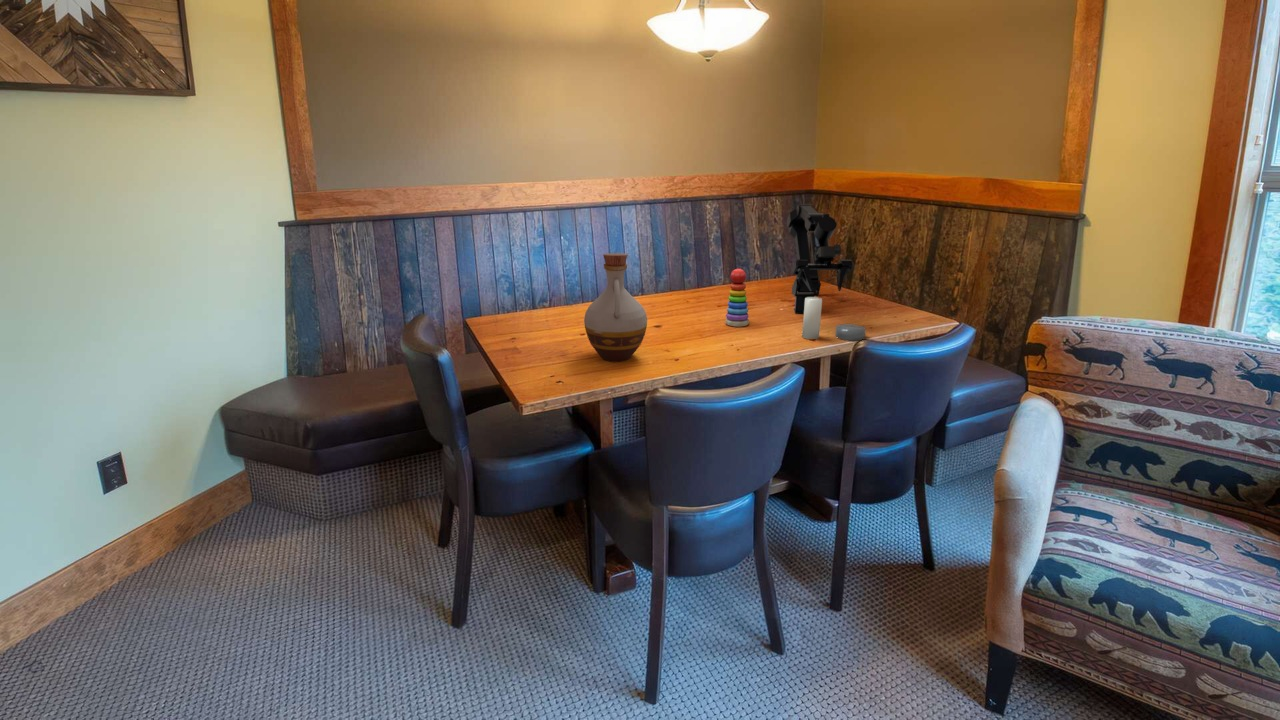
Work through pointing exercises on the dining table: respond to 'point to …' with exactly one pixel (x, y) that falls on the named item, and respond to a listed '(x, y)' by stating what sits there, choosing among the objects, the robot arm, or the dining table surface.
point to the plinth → (850, 332)
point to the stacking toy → (737, 300)
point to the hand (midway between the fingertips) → (825, 290)
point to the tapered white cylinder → (812, 317)
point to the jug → (615, 315)
